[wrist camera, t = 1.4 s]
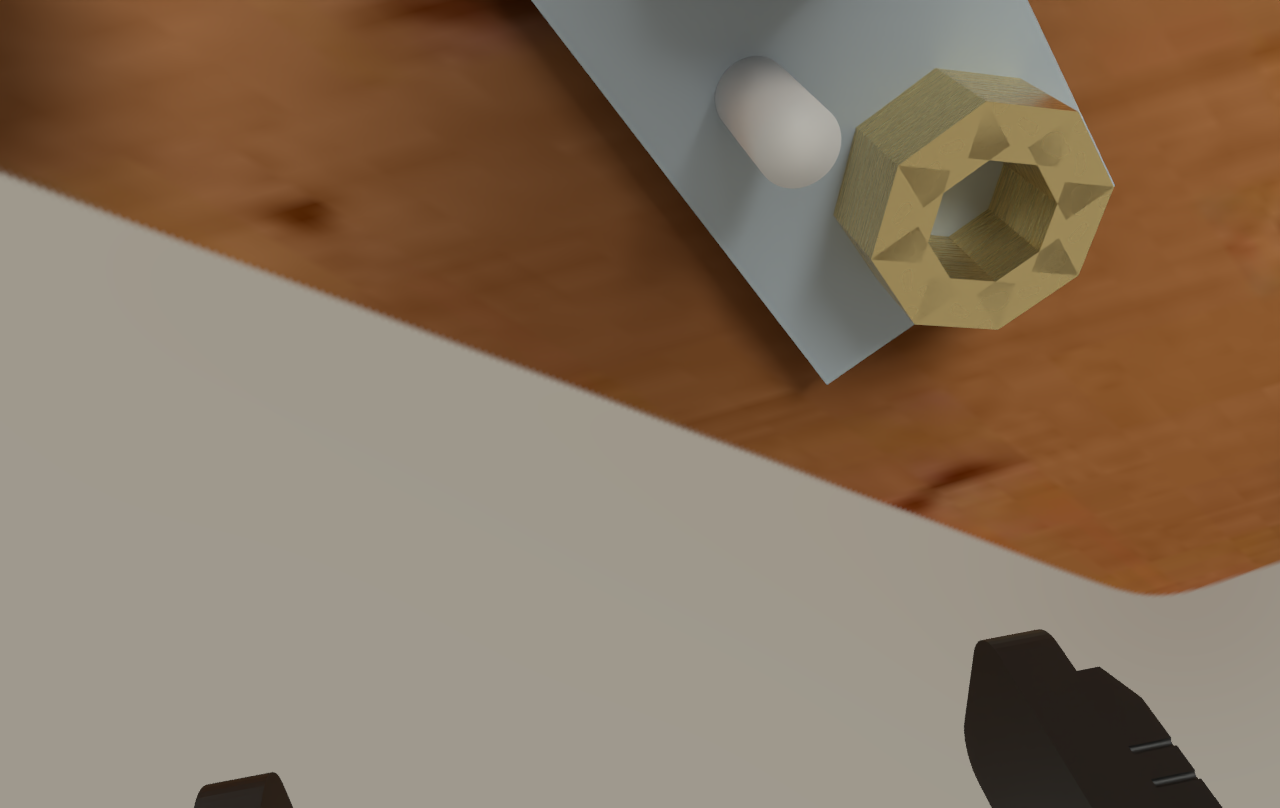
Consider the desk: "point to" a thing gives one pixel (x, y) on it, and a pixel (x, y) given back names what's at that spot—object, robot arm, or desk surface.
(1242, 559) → the desk surface
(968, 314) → the brass gear
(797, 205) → the gear board
